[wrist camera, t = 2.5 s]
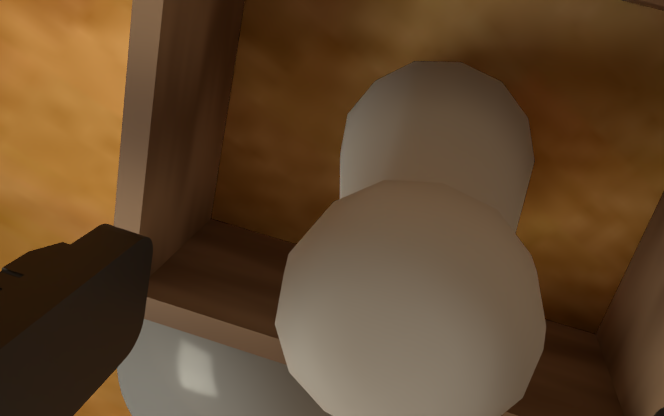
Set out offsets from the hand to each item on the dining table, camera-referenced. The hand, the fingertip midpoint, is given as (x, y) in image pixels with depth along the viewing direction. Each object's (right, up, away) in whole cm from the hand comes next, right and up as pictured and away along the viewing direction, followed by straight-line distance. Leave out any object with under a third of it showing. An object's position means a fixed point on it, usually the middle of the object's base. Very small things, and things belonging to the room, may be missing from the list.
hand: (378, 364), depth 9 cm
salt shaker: (+3, +5, +11) cm, 13 cm away
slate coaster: (-5, -5, +17) cm, 18 cm away
